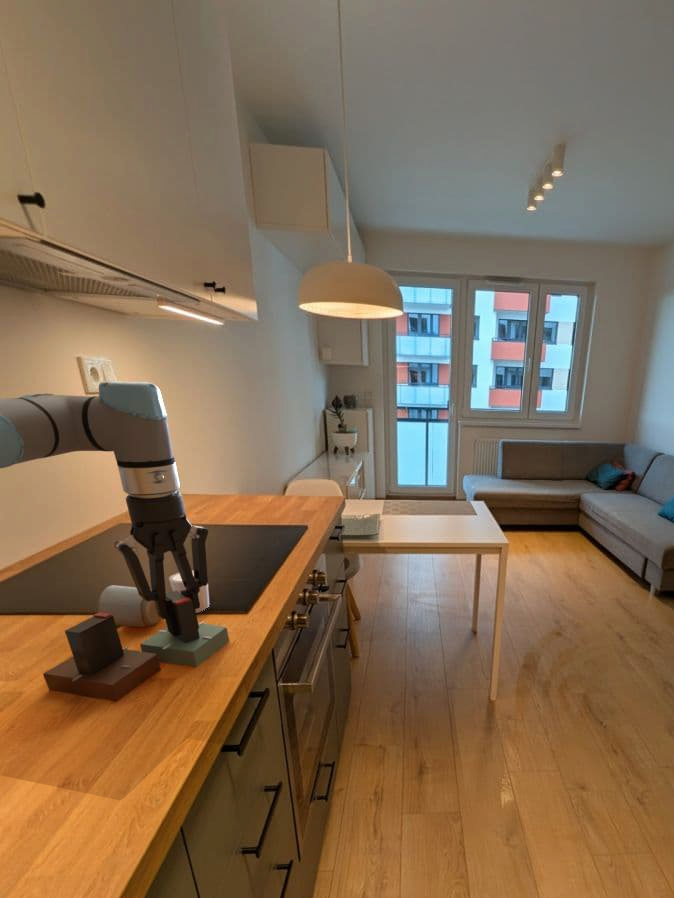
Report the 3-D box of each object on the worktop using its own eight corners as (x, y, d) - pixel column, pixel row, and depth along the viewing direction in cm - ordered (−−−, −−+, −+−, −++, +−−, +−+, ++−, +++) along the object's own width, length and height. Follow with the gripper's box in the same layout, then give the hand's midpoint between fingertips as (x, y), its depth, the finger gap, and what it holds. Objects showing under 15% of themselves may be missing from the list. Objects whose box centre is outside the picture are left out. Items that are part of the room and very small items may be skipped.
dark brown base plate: (45, 692, 76) (38, 674, 75) (101, 658, 85) (96, 641, 84) (113, 704, 74) (108, 686, 72) (163, 667, 83) (159, 651, 81)
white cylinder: (171, 606, 103) (164, 574, 100) (206, 597, 108) (200, 567, 105) (181, 618, 99) (174, 585, 96) (217, 608, 103) (211, 576, 100)
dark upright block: (169, 631, 88) (161, 593, 85) (184, 626, 89) (176, 588, 86) (184, 643, 84) (176, 603, 81) (200, 638, 86) (192, 599, 83)
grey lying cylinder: (149, 634, 93) (140, 595, 90) (103, 633, 92) (92, 594, 89) (175, 609, 102) (168, 574, 99) (134, 609, 102) (125, 573, 99)
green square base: (140, 661, 84) (136, 644, 83) (182, 633, 93) (179, 617, 92) (194, 669, 83) (191, 652, 81) (232, 639, 92) (229, 624, 90)
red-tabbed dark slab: (92, 674, 75) (78, 631, 72) (78, 672, 76) (63, 629, 73) (124, 654, 80) (112, 613, 77) (111, 652, 81) (99, 611, 78)
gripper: (103, 505, 69) (142, 654, 79) (215, 489, 80) (238, 622, 89) (85, 496, 73) (125, 638, 83) (194, 481, 84) (218, 609, 94)
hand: (183, 629), depth 86 cm, fingers closed on dark upright block, 2 cm apart
